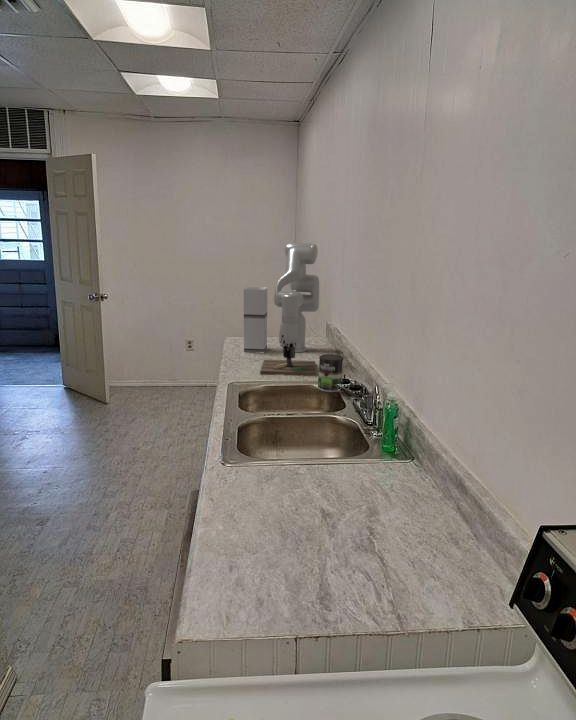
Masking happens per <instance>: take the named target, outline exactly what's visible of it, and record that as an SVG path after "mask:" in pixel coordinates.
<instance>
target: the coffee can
mask: <svg viewBox="0 0 576 720" xmlns="http://www.w3.org/2000/svg"><path fill="white" fill-rule="evenodd" d="M318 357H319V361H318V362H319V368H318V386H317V387H318V390H319V391H321V392H325V393H337V392H340V391H339V390H338V389H337V387H336V386H335V385H334V384H340V383H341V382H342V383H343V373H344V360H345V359H344V358H345V357H344V356H342V355H338V354H335V353H334V354H331V353H329V354H327V353H326V354H322V355H320V356H318Z"/></svg>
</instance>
